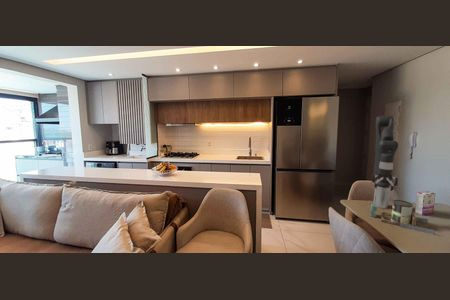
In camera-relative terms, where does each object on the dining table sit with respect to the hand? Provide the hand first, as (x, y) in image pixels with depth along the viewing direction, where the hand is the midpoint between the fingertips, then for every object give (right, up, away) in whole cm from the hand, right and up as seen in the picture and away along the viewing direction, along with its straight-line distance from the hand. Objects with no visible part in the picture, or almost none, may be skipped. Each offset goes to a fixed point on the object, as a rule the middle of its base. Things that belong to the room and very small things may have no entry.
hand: (383, 189), depth 139 cm
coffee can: (+7, -22, -6) cm, 24 cm away
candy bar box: (+36, -20, +6) cm, 42 cm away
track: (+12, -22, -9) cm, 27 cm away
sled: (+3, -21, -3) cm, 21 cm away
